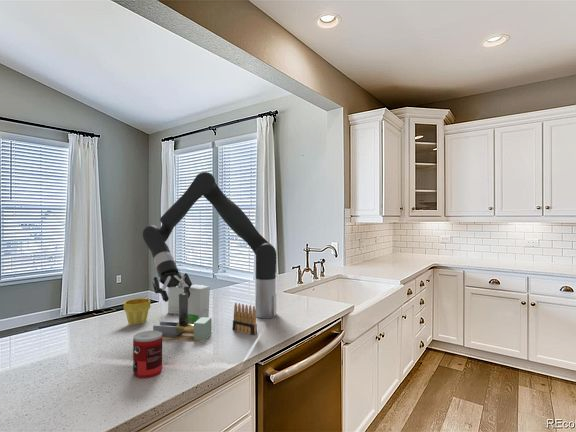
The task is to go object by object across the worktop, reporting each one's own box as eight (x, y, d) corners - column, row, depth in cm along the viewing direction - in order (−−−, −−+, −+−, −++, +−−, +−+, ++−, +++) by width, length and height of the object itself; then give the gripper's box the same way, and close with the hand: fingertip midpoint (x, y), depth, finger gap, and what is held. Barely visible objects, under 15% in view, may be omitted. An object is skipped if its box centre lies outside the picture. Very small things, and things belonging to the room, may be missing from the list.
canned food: (138, 366, 102) (138, 330, 102) (165, 366, 103) (165, 330, 103) (128, 379, 94) (128, 339, 94) (158, 378, 95) (158, 339, 95)
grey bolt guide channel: (182, 332, 128) (182, 322, 128) (176, 337, 123) (176, 326, 123) (160, 331, 130) (160, 321, 130) (153, 336, 124) (153, 325, 124)
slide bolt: (207, 332, 126) (208, 293, 126) (204, 335, 123) (204, 296, 123) (179, 331, 127) (180, 292, 127) (175, 334, 124) (176, 294, 124)
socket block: (211, 333, 128) (211, 317, 128) (204, 340, 121) (204, 323, 121) (201, 332, 128) (201, 317, 128) (193, 339, 121) (193, 323, 121)
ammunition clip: (257, 337, 128) (257, 305, 128) (254, 338, 126) (254, 306, 126) (235, 331, 133) (235, 301, 133) (232, 333, 132) (232, 302, 132)
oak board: (212, 335, 129) (212, 332, 129) (202, 345, 119) (202, 341, 119) (163, 332, 132) (163, 329, 132) (149, 342, 122) (149, 338, 122)
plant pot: (117, 325, 140) (118, 302, 140) (139, 319, 149) (139, 296, 149) (134, 329, 135) (134, 305, 135) (155, 322, 144) (155, 299, 144)
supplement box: (182, 314, 156) (182, 287, 156) (167, 313, 158) (167, 286, 158) (189, 310, 163) (189, 284, 163) (175, 309, 165) (175, 283, 165)
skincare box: (184, 323, 144) (184, 286, 144) (194, 319, 149) (195, 283, 149) (199, 326, 140) (200, 288, 140) (210, 321, 146) (210, 285, 146)
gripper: (150, 261, 130) (162, 296, 122) (185, 258, 140) (198, 290, 132) (145, 273, 134) (156, 307, 126) (179, 269, 144) (192, 301, 136)
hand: (178, 298), depth 129 cm, fingers open, 8 cm apart
